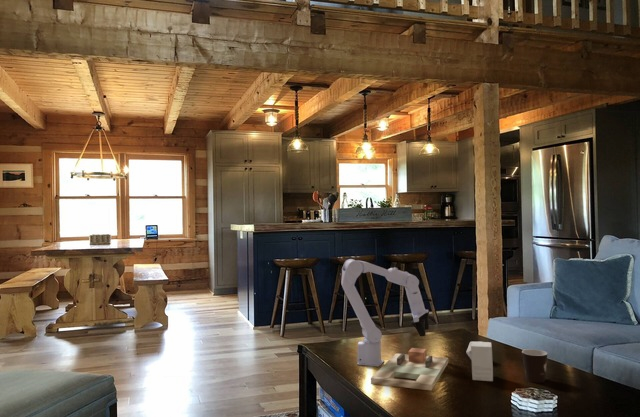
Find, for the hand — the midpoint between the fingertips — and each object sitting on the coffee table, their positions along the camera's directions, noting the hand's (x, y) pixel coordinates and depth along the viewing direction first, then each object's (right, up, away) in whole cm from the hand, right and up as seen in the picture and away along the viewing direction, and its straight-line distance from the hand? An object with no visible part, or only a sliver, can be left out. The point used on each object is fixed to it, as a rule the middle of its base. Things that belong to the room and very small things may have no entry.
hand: (424, 332), depth 211 cm
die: (+21, -11, -3) cm, 24 cm away
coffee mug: (+36, -10, -28) cm, 46 cm away
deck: (-8, -11, -17) cm, 22 cm away
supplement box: (+16, -11, -25) cm, 32 cm away
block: (-4, -9, -7) cm, 13 cm away
